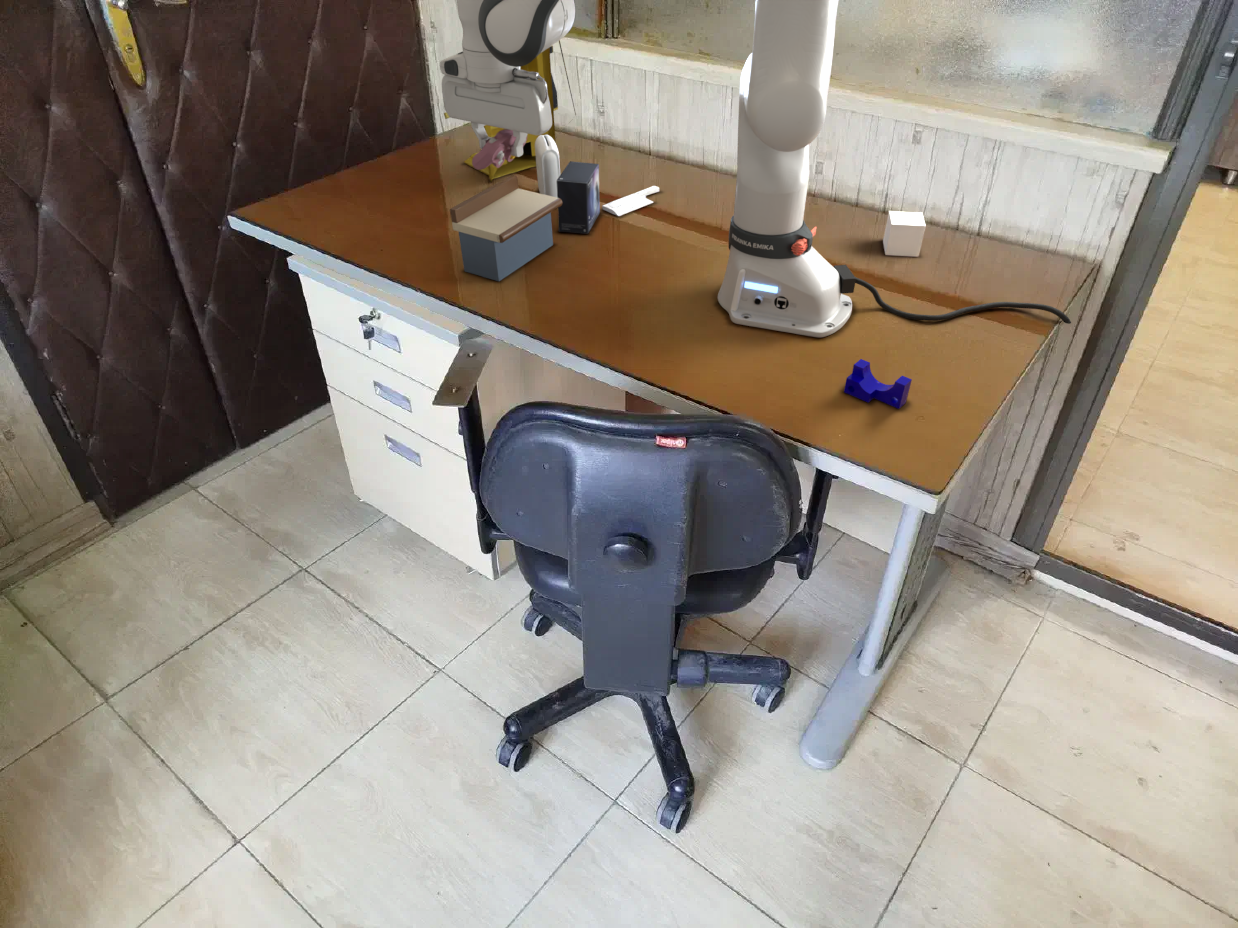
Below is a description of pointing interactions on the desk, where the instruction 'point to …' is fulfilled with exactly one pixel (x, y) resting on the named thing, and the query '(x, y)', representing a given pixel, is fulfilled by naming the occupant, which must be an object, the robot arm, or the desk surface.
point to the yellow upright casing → (528, 158)
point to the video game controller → (495, 150)
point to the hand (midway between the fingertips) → (501, 152)
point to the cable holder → (876, 386)
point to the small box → (578, 197)
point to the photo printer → (547, 165)
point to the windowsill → (503, 228)
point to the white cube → (904, 233)
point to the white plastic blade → (630, 202)
